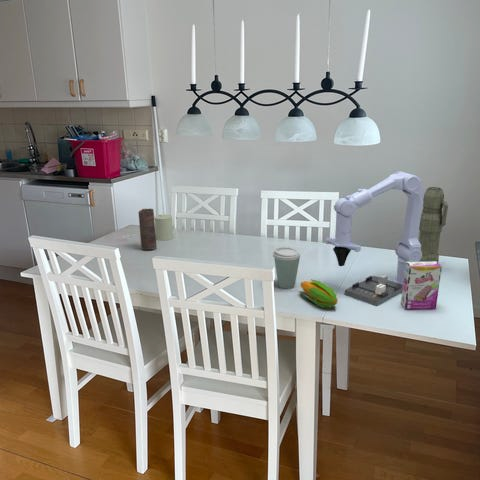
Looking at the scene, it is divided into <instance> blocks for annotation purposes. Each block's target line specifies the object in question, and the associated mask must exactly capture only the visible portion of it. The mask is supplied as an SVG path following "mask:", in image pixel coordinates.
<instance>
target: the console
mask: <svg viewBox="0 0 480 480" xmlns="http://www.w3.org/2000/svg"><path fill="white" fill-rule="evenodd" d="M378 278H379V276H376V275H373V276H372V275H370V276H368V277H365V280H362V281H360V282H359V281H357V282H356V283H353V284H352V285H351V286H349V287H347V288H345V289H344V293H343V295H344V296H347V297H350V298H353V299H356V300H357V301H361V302H364V303H367V304H370V305H373V306H375V307H378V306H380V305H382V304H383V303H386V302H388V301H389V300H391V299H392V298H394V297H397V296H398V295H400V294H402V289H403V284H400V283H396V282H393V280H389V279H388V283H386V284H384V285H386V291H385V293H383V294H381V295H379V294H376V293H375V290H376V286H377V285H379V283H378Z"/></svg>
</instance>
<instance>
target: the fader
mask: <svg viewBox="0 0 480 480" xmlns="http://www.w3.org/2000/svg"><path fill="white" fill-rule="evenodd" d="M378 277H379V278H378V283H379V284H383V285H384V284H386V283H388V280H389V275H387V274H384V273H383V274H381V275H379V276H378Z"/></svg>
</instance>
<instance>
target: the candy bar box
mask: <svg viewBox="0 0 480 480" xmlns="http://www.w3.org/2000/svg"><path fill="white" fill-rule="evenodd" d="M442 268H443V266H442V265H441V264H440V263H439V262H438V263H437V262H436V261H431V262H405V271H404V279H403V289H402V293H401V298H400V305H401V307H403V309H404V311H405V310H410V311H411V310H436V309H437V305H438V304H437V303H438V297H439V289H440V280H441V274H442Z"/></svg>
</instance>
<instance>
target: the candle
mask: <svg viewBox="0 0 480 480" xmlns="http://www.w3.org/2000/svg"><path fill="white" fill-rule="evenodd" d="M154 211H155V210H154V208H142V209H141V210H139V211H138V222H139V233H140V234H139V235H140V248H141V249H144V250H156V249H157V239H156V232H155V219H154V217H155V213H154Z"/></svg>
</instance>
